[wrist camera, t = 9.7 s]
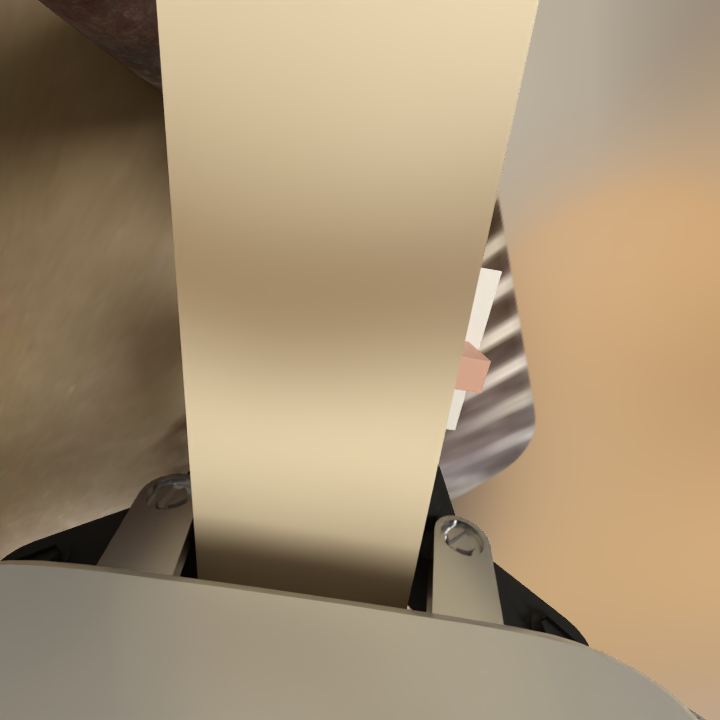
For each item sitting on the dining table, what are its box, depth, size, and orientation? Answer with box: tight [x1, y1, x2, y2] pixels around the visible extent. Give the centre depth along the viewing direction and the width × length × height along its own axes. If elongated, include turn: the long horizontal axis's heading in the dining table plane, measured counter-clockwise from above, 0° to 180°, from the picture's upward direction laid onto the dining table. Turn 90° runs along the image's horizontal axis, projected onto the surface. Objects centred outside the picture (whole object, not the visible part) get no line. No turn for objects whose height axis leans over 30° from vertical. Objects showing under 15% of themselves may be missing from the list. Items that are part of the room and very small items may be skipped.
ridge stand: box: [446, 268, 502, 430], centre depth 26 cm, size 14×22×6 cm, turn 80°
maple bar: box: [156, 0, 539, 609], centre depth 10 cm, size 20×4×7 cm, turn 174°
